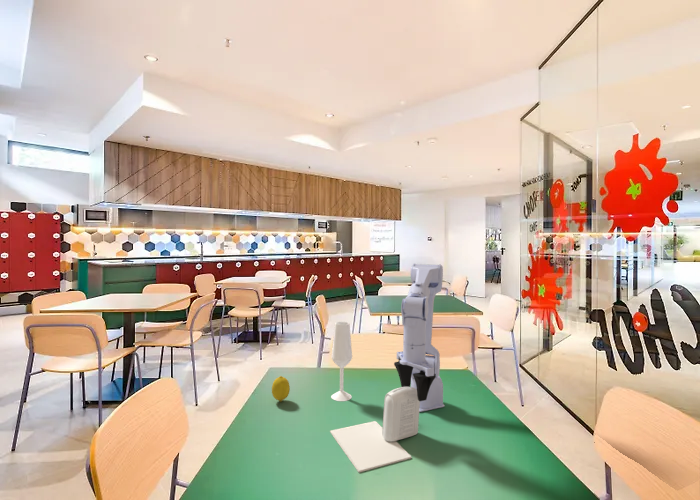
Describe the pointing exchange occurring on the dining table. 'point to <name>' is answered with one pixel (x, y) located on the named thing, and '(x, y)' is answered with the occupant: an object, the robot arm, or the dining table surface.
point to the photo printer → (400, 414)
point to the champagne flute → (341, 355)
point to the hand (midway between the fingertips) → (413, 394)
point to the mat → (368, 446)
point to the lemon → (280, 388)
